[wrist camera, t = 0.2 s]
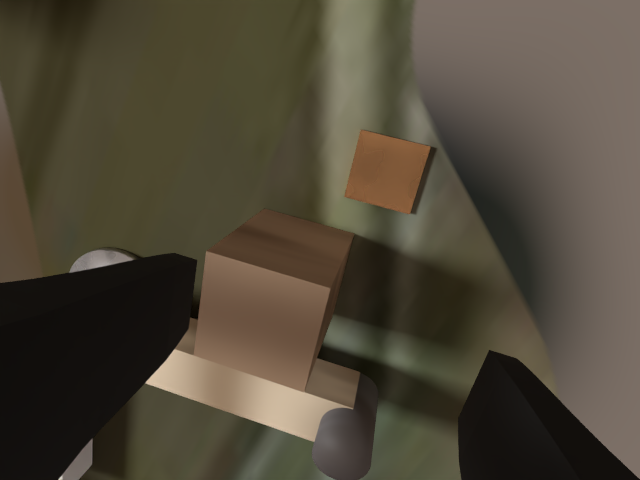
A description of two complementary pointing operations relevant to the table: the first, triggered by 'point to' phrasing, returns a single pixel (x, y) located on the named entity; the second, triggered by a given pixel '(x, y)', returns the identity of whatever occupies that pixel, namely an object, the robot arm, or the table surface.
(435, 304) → the table surface
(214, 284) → the block
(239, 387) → the crank
